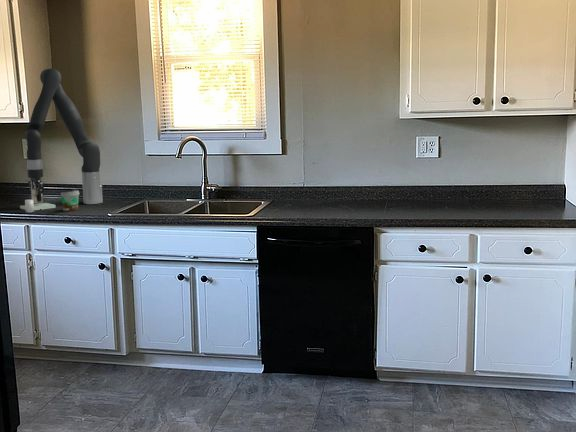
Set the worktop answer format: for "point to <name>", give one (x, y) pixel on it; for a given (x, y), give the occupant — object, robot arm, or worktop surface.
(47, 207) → the cutting board
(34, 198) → the ash block
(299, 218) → the worktop surface
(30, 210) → the ceramic jar
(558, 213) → the worktop surface
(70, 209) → the food container
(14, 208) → the worktop surface
